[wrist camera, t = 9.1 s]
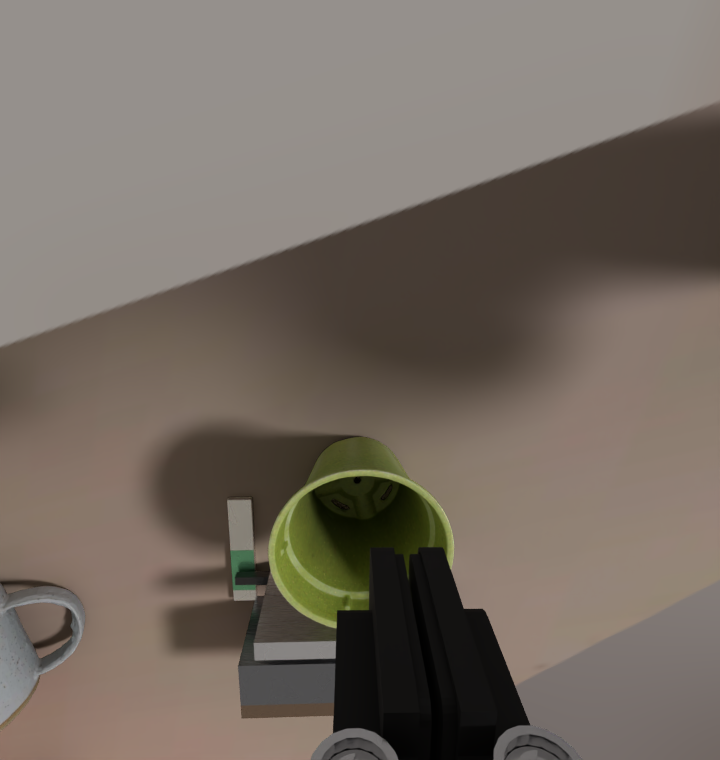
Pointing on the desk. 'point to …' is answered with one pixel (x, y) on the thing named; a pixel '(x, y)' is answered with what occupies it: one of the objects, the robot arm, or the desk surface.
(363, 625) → the robot arm
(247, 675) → the grey slotted box
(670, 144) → the desk surface
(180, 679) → the desk surface
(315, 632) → the grey flat bar
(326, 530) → the plant pot
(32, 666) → the ceramic mug
